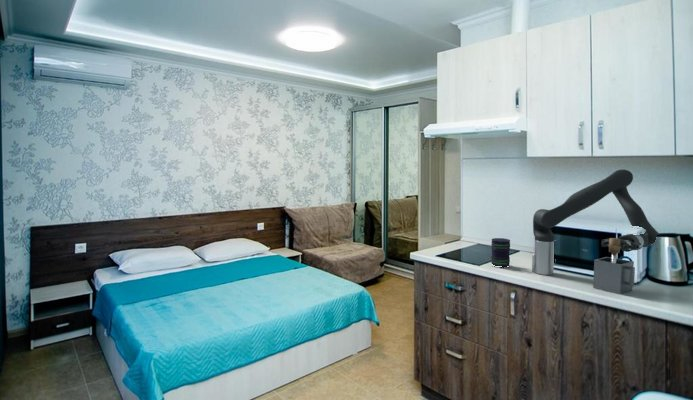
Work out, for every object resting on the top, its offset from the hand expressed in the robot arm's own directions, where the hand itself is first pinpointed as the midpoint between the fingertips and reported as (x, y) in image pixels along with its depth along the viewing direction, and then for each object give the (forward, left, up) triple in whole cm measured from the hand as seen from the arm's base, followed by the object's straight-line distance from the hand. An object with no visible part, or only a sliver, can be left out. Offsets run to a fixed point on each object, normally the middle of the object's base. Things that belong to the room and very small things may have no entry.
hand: (612, 246), depth 175 cm
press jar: (+1, +1, -20) cm, 20 cm away
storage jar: (-55, -5, -20) cm, 59 cm away
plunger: (0, +1, -19) cm, 19 cm away
